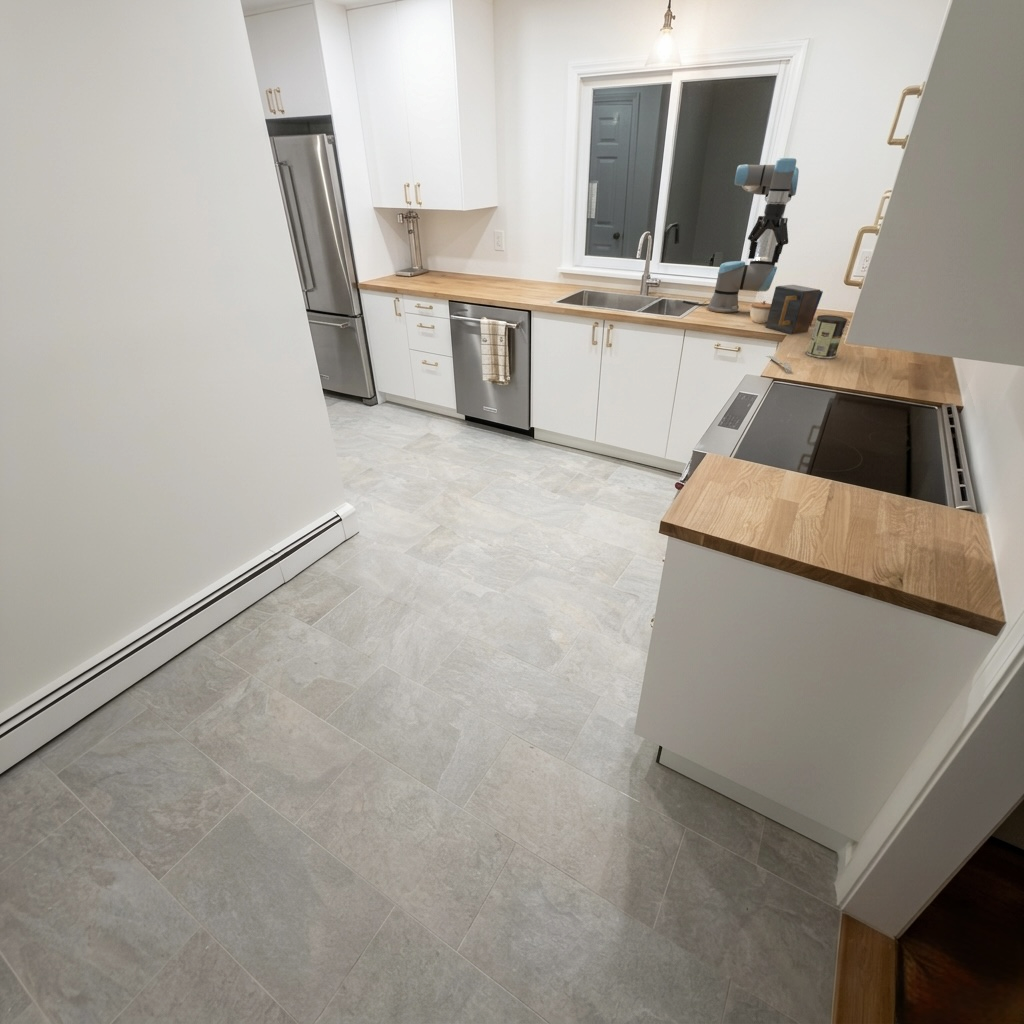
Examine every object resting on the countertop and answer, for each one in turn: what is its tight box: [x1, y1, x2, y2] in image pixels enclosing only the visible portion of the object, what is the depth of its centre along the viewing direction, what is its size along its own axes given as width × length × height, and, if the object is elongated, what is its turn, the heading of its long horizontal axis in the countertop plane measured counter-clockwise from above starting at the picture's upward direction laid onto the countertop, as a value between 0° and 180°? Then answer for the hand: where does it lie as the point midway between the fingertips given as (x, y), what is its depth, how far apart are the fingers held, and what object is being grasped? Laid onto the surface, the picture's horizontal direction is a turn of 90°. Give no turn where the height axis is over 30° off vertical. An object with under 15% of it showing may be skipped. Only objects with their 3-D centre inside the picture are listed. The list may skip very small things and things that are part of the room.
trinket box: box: [749, 300, 771, 324], centre depth 256 cm, size 11×11×9 cm
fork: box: [765, 355, 793, 374], centre depth 198 cm, size 3×21×3 cm, turn 178°
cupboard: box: [777, 284, 821, 335], centre depth 240 cm, size 10×14×18 cm
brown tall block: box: [810, 290, 824, 326], centre depth 251 cm, size 7×7×15 cm
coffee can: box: [806, 314, 848, 360], centre depth 206 cm, size 10×10×14 cm
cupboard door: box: [765, 285, 804, 335], centre depth 237 cm, size 7×14×18 cm, turn 26°
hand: (762, 260), depth 229 cm, fingers open, 13 cm apart
